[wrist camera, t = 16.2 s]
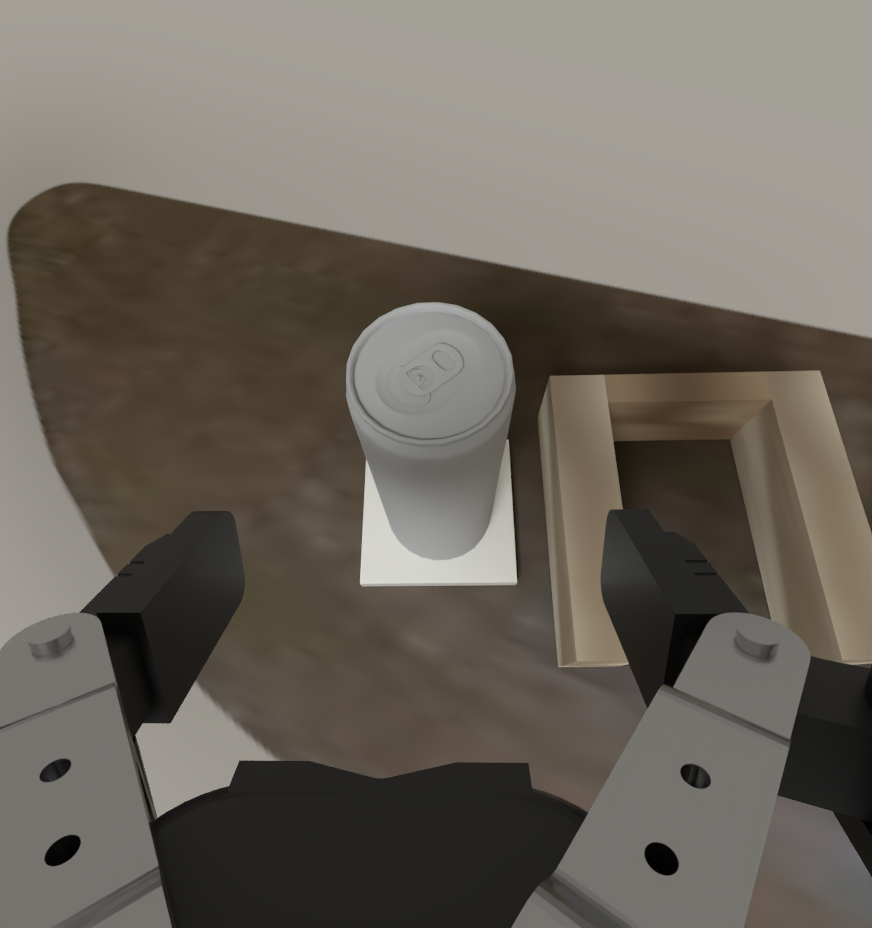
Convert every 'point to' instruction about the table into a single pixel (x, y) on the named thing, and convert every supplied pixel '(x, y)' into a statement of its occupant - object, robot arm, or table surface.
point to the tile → (401, 567)
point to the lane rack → (763, 488)
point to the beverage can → (433, 421)
